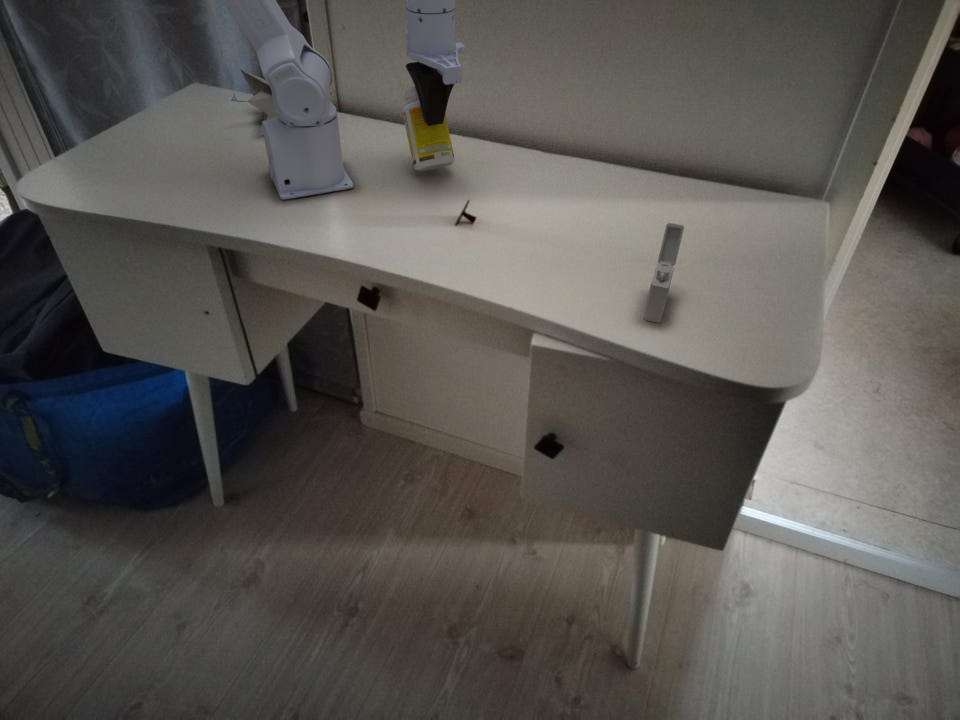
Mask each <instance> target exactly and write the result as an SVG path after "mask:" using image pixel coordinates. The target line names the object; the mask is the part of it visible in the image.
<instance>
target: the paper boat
mask: <svg viewBox="0 0 960 720" xmlns="http://www.w3.org/2000/svg"><path fill="white" fill-rule="evenodd" d="M240 72H241V74H242V76H243V78H244V80H245V82H246V83H247V86H248V88H249V90H250V92H251V93H252V95H253V96H252V97H251V98H250V99H248V100H247V101H246V100H238V98H237V97H236V95H235V93H233V95H232V97H231V100H230V102H237V103H239V102H240V103H248V104H249V105H251V106H253V107H254V108H256V109H258V110H260V111H261V113H262V115H263V118H264V119H263V121H265V120H269V119H272V118H274V117H276V116H278V113H277V112H278V111H277V109H276V107H275V105H274V102H273V97H272V91H271V88H270V86H269V84H268V82H267V81H266V79H265V78H262V77H261V76H257V75H255V74H252V73H250V72H247V71H245V70H242V69H240ZM260 137H264V135H263V129H262V130H261V135H260Z"/></svg>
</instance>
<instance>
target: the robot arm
mask: <svg viewBox="0 0 960 720" xmlns="http://www.w3.org/2000/svg"><path fill="white" fill-rule="evenodd" d="M456 2H457V1H456V0H405V16H406V17H405V18H406V31H404V32H405V51H406V56H407V57H408V58H409V59H410V60H413V61H414V62H409V63H406V65H405V68H406V71H407V73H408V74H409V76H410V78H411V80H412V82H413V85H414V87H415V88H416V91H417V94H418V98H419V102H420V106H421V111H422V114H423V118H424V121H425V123H426V124H427V125H428V126H431V125H438V124H443V121H444V117H445V114H446V112H447V108H448V103H449V100H450V96H451V93H452V90H453V89H454V86H455V84H461V83H462V80H463V79H462V69H463V68H462V67H463V66H462V65H461V64H460V62H459V54H463V53H465V52H466V46H465V44H463V43H462V42H461V41H457V30H456V24H457V21H456V20H457V19H456V12H457V11H456V8H457V3H456ZM222 3H223V4H224V5H225V7H226V9H227V10H228V12H229V13H230V15H231V17H232V18H233V19H234V20H235V22H236V24H237V25H238V26H239V28H240V30H241V31H242V32H243V34H244V36H245V37H246V38H247V41H249V43H250V45H251V46H252V48H253V49H254V50H255V52H256V53H255V54H256V57H257V61H258V64H259V66H260V70H261V73H262V77H263V79H265V80H266V81H267V82H268V84H269V86H270V88H271V91H272V97H273V102H274V105H275V107H276V109H277V111H278V112H277V113H278V116H276V117H274V118H272V119H269V120H265V121H264V120H262V121H261V127H262V130H263V135H264V136H263V140H264V146H265V151H266V155H267V160H268V166H267V167H268V172H269V176H270V179H271V180H272V182H273V185H274V186H275V189H276V192H277V194H278V196H279V198H280V200H290V199H296V198H302V197H309V196H313V195H314V196H315V195H321V194H325V193H331V192H332V193H333V192H337V191H343V190H348V189H352V188H354V183H353V181H352V179H351V177H350V176H349V174H348V172H347V171H346V168H345V167H344V161H343V154H342V145H341V135H340V127H339V117H338V111H337V107H336V106H335V104H334V103H333V102H332V101H331V99H330V98H329V92H330V88H331V86H332V83H333V71H332V67H331V64H330V63H329V61H328V60H327V59H326V57H325V56H324V55H322V54H321V53H320V52H318V51H317V50H316V49H314V48H313V47H312V45H310V43H308V41H307V39H306V38H305V36H304V35H303V34H302V33H301V32H300V31H299V30H297V29H296V28H295V27H294V26H293V25H292V24H291V23H290V21H289V20H288V18H287V16H286V15H285V13H284V12H283V9H282V8H281V6H280V4H279V3H278V1H277V0H222Z"/></svg>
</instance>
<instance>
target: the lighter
mask: <svg viewBox="0 0 960 720" xmlns="http://www.w3.org/2000/svg"><path fill="white" fill-rule="evenodd" d="M684 230H685V226H684V225H683V224H679V223H674V222H673V223H672V222H668V223H667V224H665V229H664V233H663V238H662V242H661V246H660V250H659V254H658V259H657V263H656V266H655V270H654V271H653V275H652V279H651V282H650V284H649V290H648V296H647V300H646V304H645V309H644V314H643V320H644V321H649V322H653V323H656V324H659V323H661V322H662V319H663V315H664V312H665V308H666V304H667V300H668V296H669V292H670V288H671V284H672V279H673V274H674V271H675V265H676V264H677V260H678V255H679V251H680V248H681V247H680V246H681V242H682V239H683V235H684Z"/></svg>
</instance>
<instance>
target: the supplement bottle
mask: <svg viewBox="0 0 960 720" xmlns="http://www.w3.org/2000/svg"><path fill="white" fill-rule="evenodd" d="M403 94H404V98H405V99H404V100H405V106H403V108H402V111H401V113H402V119H403V123H404V127H405V131H406V132H405V133H406V137H407V142H408V145H409V146H408V147H409V151H410V155H411V159H412V165H413V167H414V169H415V170H416V171H418V172H425V171H431V170H437V169H441V168H445V167H448V166H450V165H452V164H453V163H454V162H455V154H454V149H453V144H452V139H451V134H450V129H449V125H448V121H447V115H446V113H445V117H444V121H443V124H438V125H431V126H428V125H427V124H426V123H425V121H424V118H423V114H422V111H421V106H420V102H419V98H418V94H417V91H416V88H415V86H412V87H409V88H407V89H405V90H404V92H403Z"/></svg>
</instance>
